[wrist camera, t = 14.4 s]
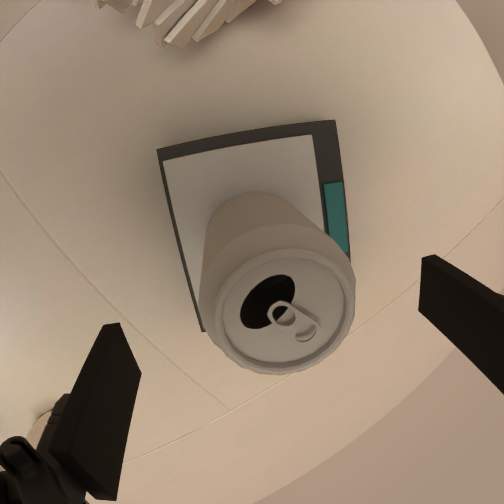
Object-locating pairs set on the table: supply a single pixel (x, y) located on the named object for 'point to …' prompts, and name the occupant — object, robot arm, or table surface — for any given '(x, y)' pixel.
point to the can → (273, 286)
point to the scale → (253, 182)
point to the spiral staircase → (182, 17)
